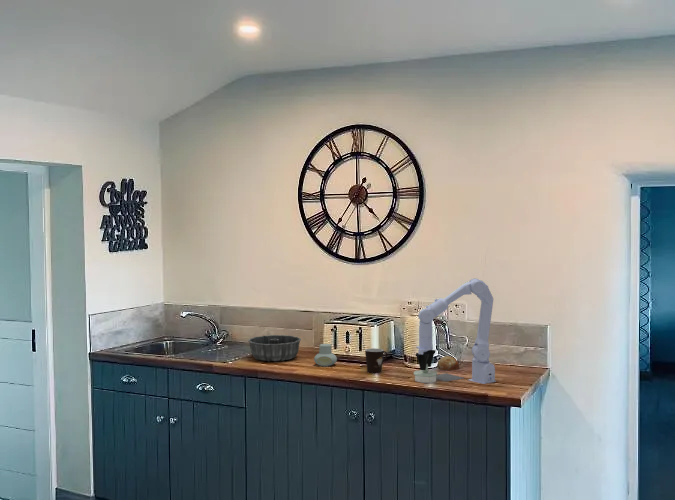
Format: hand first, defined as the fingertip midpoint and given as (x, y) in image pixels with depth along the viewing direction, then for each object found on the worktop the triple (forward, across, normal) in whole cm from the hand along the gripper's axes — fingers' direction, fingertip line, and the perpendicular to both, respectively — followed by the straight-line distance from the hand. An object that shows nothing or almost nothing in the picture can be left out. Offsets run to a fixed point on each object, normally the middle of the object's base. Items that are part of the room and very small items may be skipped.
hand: (425, 368), depth 308 cm
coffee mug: (+6, -10, -26) cm, 29 cm away
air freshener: (+6, -14, -54) cm, 56 cm away
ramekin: (+6, 0, 0) cm, 6 cm away
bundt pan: (+6, -19, -85) cm, 87 cm away
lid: (+3, 0, 0) cm, 3 cm away
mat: (+6, -9, +6) cm, 12 cm away
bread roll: (+6, -29, +2) cm, 30 cm away
